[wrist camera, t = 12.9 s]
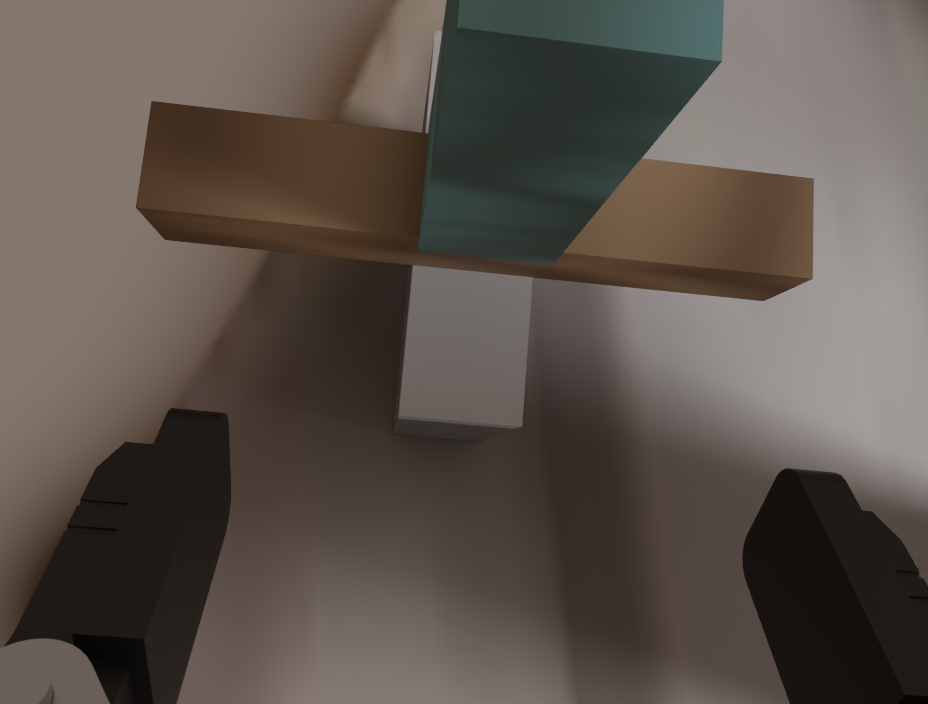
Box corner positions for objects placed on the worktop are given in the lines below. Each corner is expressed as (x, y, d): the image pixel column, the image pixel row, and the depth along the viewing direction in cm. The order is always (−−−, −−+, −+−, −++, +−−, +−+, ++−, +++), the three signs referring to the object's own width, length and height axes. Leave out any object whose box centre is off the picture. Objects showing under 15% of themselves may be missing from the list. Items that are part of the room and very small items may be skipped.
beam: (765, 200, 21) (1191, -102, 10) (763, 312, 21) (1207, 123, 10) (179, 133, 20) (-70, -299, 9) (163, 251, 20) (-123, -49, 8)
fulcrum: (499, 171, 30) (549, 45, 21) (477, 441, 29) (522, 426, 20) (418, 161, 30) (435, 30, 21) (392, 434, 28) (398, 415, 20)
